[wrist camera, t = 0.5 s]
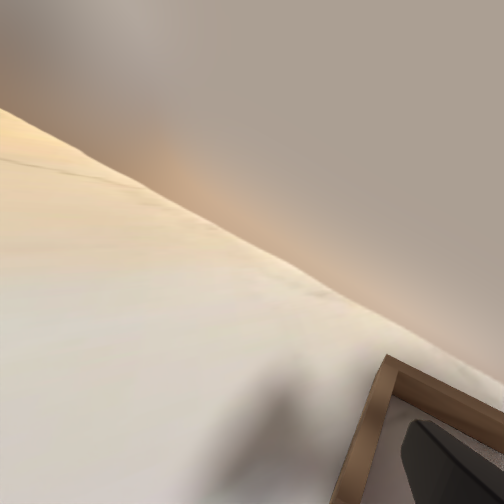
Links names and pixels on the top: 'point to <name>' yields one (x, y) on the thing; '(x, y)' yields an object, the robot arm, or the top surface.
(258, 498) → the top surface
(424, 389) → the walnut bay
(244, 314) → the top surface
